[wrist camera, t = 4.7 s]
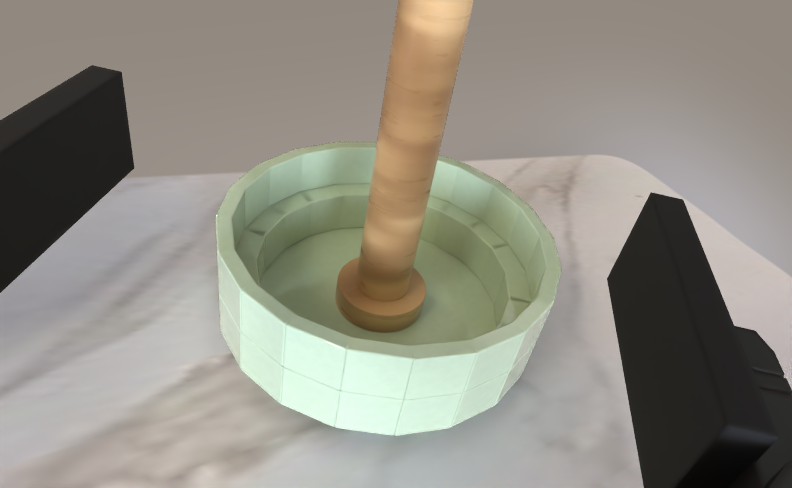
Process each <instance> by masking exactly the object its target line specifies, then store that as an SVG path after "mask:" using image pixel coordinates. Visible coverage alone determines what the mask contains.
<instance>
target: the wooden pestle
mask: <svg viewBox="0 0 792 488" xmlns="http://www.w3.org/2000/svg"><path fill="white" fill-rule="evenodd" d="M473 1H474V0H398V6H397V12H396V19H395V26H394V32H393V39H392V46H391V53H390V59H389V66H388V72H387V79H386V85H385V92H384V98H383V105H382V111H381V118H380V125H379V132H378V138H377V144H376V151H375V158H374V164H373V171H372V178H371V184H370V191H369V197H368V204H367V211H366V217H365V224H364V230H363V237H362V244H361V250H360V257H358V258H355V259H353V260H351V261H349V262H348V263H347V264H345V265H344V266H343V268H342V269H341V270H340V272H339V275H338V279H337V287H336V296H335V299H336V304H337V307H338V309H339V311H340V312H341V314H342V315H343V316H344V317H345V318H346V319H347V320H348V321H349V322H351V323H352V324H354V325H356V326H358V327H360V328H362V329H365V330H368V331H373V332H380V333H389V332H396V331H400V330H403V329H405V328H407V327H409V326H411V325H412V324H413V323H414V322H415V321H416V320H417V319H418V318H419V316H420V314H421V311H422V307H423V303H424V299H425V295H426V285H425V281H424V279H423V277H422V276H421V274H420V273H419V272H418V271H417V270H416V269H415V268H414V267H413V266H414V261H415V257H416V252H417V248H418V244H419V239H420V235H421V230H422V226H423V222H424V217H425V213H426V208H427V204H428V200H429V195H430V191H431V186H432V182H433V178H434V173H435V169H436V164H437V160H438V156H439V151H440V146H441V142H442V138H443V133H444V129H445V125H446V120H447V116H448V111H449V107H450V102H451V98H452V94H453V89H454V85H455V81H456V76H457V72H458V67H459V63H460V59H461V54H462V50H463V45H464V41H465V37H466V32H467V28H468V23H469V19H470V15H471V10H472V6H473Z"/></svg>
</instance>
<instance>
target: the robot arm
mask: <svg viewBox="0 0 792 488" xmlns="http://www.w3.org/2000/svg"><path fill="white" fill-rule="evenodd" d="M133 169H134V163H133V155H132V148H131V140H130V132H129V125H128V117H127V110H126V102H125V95H124V87H123V79H122V72H119V71H115V70H110V69H106V68H102V67H97V66H93V65H92V66H90V67H88V68H87V69H85V70H83V71H82V72H80V73H78V74H77V75H75V76H73V77H72V78H70V79H68V80H67V81H65V82H63V83H62V84H60V85H58V86H57V87H55V88H53V89H52V90H50V91H48V92H47V93H45V94H43V95H42V96H40V97H39V98H37V99H35V100H33V101H32V102H30V103H28V104H27V105H25V106H23V107H22V108H20V109H18V110H17V111H15V112H13V113H12V114H10V115H8V116H7V117H5V118H3V119H2V120H0V293H1V292H2V291H3V290H4V289H5V288H6V287H7V286H8V285H9V284H10V283H11V282H12V281H13V280H15V279H16V278H17V277H18V276H19V275H20V274H21V273H22V272H23V271H24V270H25V269H26V268H27V267H29V266H30V265H31V264H32V263H33V262H34V261H35V260H36V259H37V258H38V257H39V256H40V255H41V254H42V253H44V252H45V251H46V250H47V249H48V248H49V247H50V246H51V245H52V244H53V243H54V242H55V241H56V240H58V239H59V238H60V237H61V236H62V235H63V234H64V233H65V232H66V231H67V230H68V229H69V228H70V227H71V226H73V225H74V224H75V223H76V222H77V221H78V220H79V219H80V218H81V217H82V216H83V215H84V214H85V213H87V212H88V211H89V210H90V209H91V208H92V207H93V206H94V205H95V204H96V203H97V202H98V201H99V200H100V199H102V198H103V197H104V196H105V195H106V194H107V193H108V192H109V191H110V190H111V189H112V188H113V187H114V186H116V185H117V184H118V183H119V182H120V181H121V180H122V179H123V178H124V177H125V176H126V175H127V174H128V173H129V172H130V171H132V170H133ZM607 280H608V286H609V292H610V297H611V303H612V309H613V314H614V320H615V326H616V331H617V337H618V343H619V348H620V354H621V360H622V365H623V371H624V377H625V382H626V388H627V394H628V399H629V405H630V411H631V416H632V422H633V428H634V433H635V439H636V445H637V450H638V456H639V462H640V468H641V473H642V479H643V485H644V488H792V390H791V388H790V385H789V383H788V381H787V379H786V378H784V372H783V370H782V368H781V366H780V364H779V361H778V359H777V357H776V355H775V353H774V351H773V350H772V349H771V348H770V347H769V346H768V345H767V344H766V342H765V341H764V340H763V339H762V338H761V337H760V336H759V335H758V333H757V332H756V331H754V330H749V329H745V328H741V327H737V326H734V325H733V322H732V320H731V317H730V315H729V312H728V310H727V307H726V305H725V302H724V300H723V297H722V295H721V292H720V290H719V287H718V285H717V283H716V280H715V278H714V275H713V273H712V270H711V268H710V265H709V263H708V260H707V258H706V255H705V253H704V250H703V248H702V245H701V243H700V240H699V238H698V236H697V233H696V231H695V228H694V226H693V223H692V221H691V218H690V216H689V213H688V211H687V208H686V206H685V203H684V201H683V200H682V199H677V198H673V197H669V196H664V195H660V194H655V193H650V195H649V197H648V199H647V201H646V203H645V205H644V207H643V209H642V211H641V213H640V215H639V217H638V219H637V221H636V223H635V225H634V227H633V229H632V231H631V233H630V235H629V237H628V239H627V241H626V243H625V245H624V247H623V249H622V251H621V253H620V255H619V257H618V259H617V260H616V262H615V264H614V266H613V268H612V270H611V272H610V274H609V276H608V278H607Z"/></svg>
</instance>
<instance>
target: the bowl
mask: <svg viewBox="0 0 792 488" xmlns="http://www.w3.org/2000/svg"><path fill="white" fill-rule="evenodd" d="M376 144H377V142H337V143H336V142H333V143H328V144H322V145H315V146H310V147H304V148H298V149H294V150H291V151H289V152H286V153H284V154H281V155H279V156H276V157H274V158H272V159H269V160H267V161H264V162H262V163H260V164H258V165H256V166H255V167H254V168H253V169H251V170H250V171H249V172H248V173H246V174H245V175H244V176H243V177H241V178H240V179H239V180H238V181H236V182H235V183H234V184H233V185H232V186H231V187H230V189H229V191H228V193H227V195H226V197H225V199H224V201H223V202H222V204H221V206H220V208H219V210H218V212H217V214H216V243H217V267H218V291H219V312H220V330H221V333H222V335H223V337H224V339H225V340H226V342H227V344H228V346H229V348H230V350H231V352H232V354H233V356H234V357H235V359H236V361H237V363H238V365H239V367H240V369H241V370H242V371H243V372H244V373H245V374H246V375H247V376H249V377H250V378H251V379H252V380H253V381H254V382H256V383H257V384H258V385H259V386H260V387H261V388H262V389H264V390H265V391H266V392H267V393H268V394H269V395H270V396H272V397H273V398H274V399H275V400H276V401H277V402H278V403H280V404H282V405H284V406H286V407H288V408H291V409H293V410H295V411H297V412H300V413H302V414H304V415H307V416H309V417H311V418H313V419H316V420H318V421H320V422H323V423H325V424H327V425H329V426H332V427H336V428H341V429H348V430H355V431H362V432H369V433H377V434H384V435H391V436H394V435H395V436H399V435H406V434H413V433H420V432H427V431H434V430H441V429H448V428H451V427H453V426H455V425H457V424H459V423H461V422H463V421H465V420H467V419H469V418H471V417H473V416H475V415H477V414H479V413H481V412H483V411H485V410H487V409H489V408H491V407H493V406H494V405H496V404H497V403H498V402H499V401H500V400H501V398H502V397H503V396H504V395H505V394H506V393H507V392H508V390H509V389H510V388H511V387H512V386H513V385H514V383H515V382H516V381H517V380H518V379H519V378H520V377H521V375H522V373H523V371H524V369H525V367H526V364H527V362H528V360H529V358H530V355H531V353H532V351H533V348H534V346H535V344H536V342H537V339H538V337H539V335H540V333H541V330H542V328H543V326H544V324H545V321H546V319H547V317H548V315H549V312H550V310H551V308H552V305H553V303H554V299H555V295H556V291H557V287H558V283H559V279H560V275H561V270H562V269H561V265H560V261H559V257H558V253H557V250H556V246H555V242H554V238H553V237H552V235H551V234H550V232H549V231H548V229H547V228H546V227H545V225H544V224H543V223H542V221H541V220H540V218H539V217H538V216H537V214H536V213H535V211H534V210H533V209H532V208H531V207H530V206H529V205H528V204H527V203H526V202H524V201H523V200H522V199H521V198H519V197H518V196H517V195H516V194H515V193H513V192H512V191H511V190H510V189H508V188H507V187H506V186H505V185H503V184H502V183H500V181H498V180H496V179H494V178H492V177H490V176H488V175H486V174H484V173H482V172H480V171H479V170H477V169H475V168H473V167H471V166H469V165H467V164H465V163H462V162H460V161H457V160H453V159H450V158H447V157H444V156H441V155H439V156H438V160H437V164H436V169H435V173H434V178H433V182H432V186H431V191H430V195H429V200H428V204H427V208H426V213H425V217H424V222H423V226H422V230H421V235H420V239H419V244H418V248H417V252H416V257H415V261H414V266H413V267H414V268H415V269H416V270H417V271H418V272H419V273H420V274H421V276H422V277H423V279H424V281H425V285H426V295H425V299H424V303H423V307H422V311H421V314H420V316H419V318H418V319H417V320H416V321H415V322H414V323H413V324H412V325H411V326H409V327H407V328H405V329H403V330H400V331H396V332H389V333H380V332H373V331H368V330H365V329H362V328H360V327H358V326H356V325H354V324H352V323H351V322H349V321H348V320H347V319H346V318H345V317H344V316H343V315H342V314H341V312H340V311H339V309H338V307H337V304H336V299H335V296H336V287H337V279H338V275H339V272H340V270H341V269H342V268H343V266H344V265H345V264H347V263H348V262H349V261H351V260H353V259H355V258H358V257H360V250H361V244H362V237H363V230H364V224H365V217H366V211H367V204H368V197H369V191H370V184H371V178H372V171H373V164H374V158H375V151H376Z"/></svg>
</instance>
